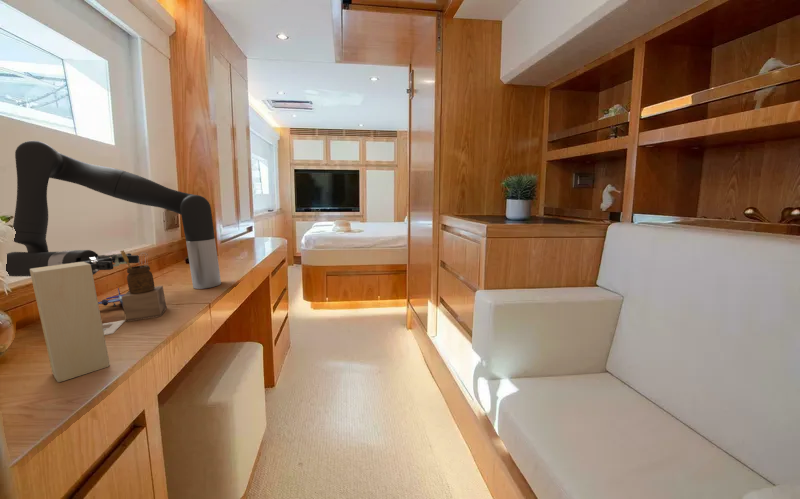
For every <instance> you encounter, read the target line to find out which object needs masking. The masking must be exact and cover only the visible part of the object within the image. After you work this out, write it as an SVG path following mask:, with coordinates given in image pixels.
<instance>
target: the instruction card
mask: <svg viewBox="0 0 800 499" xmlns="http://www.w3.org/2000/svg"><path fill="white" fill-rule="evenodd" d="M125 322H126V319H124V320H118V321H110V322H104V323H103V322H102V326H103V331H104V336H107V335H113V334H114V333H115V332H116V331H117V330H118V329H119V328H120V327H121V326H122V325H123V324H124V323H125Z"/></svg>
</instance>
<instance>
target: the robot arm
mask: <svg viewBox="0 0 800 499" xmlns="http://www.w3.org/2000/svg"><path fill="white" fill-rule="evenodd" d="M14 152H15V153H14V158H15V169H16V182H17V183H16V184H17V186H16V188H17V189H16V200H15V201H16V204H15V210H14V211H15V212H14V217H13V224H12V228H13V227H14V229H15V231H16V234H15V238H14V241H13V242H14V243H16V244H20V245H23V246H24V247H25V248H26V251H11V252H8V253H6V254H7V264H6V271H7V272H8V274H9V276H8V277H14V278H15V277H16V278H17V277H31V274H30V269H32V268H39V267H46V266H54V265H61V264H69V263H76V262H86V263H88V264H90V265H91V268H92V273H93V276H94V275H95V274H97V272H99V271H110V270H113V269H114V267H115V268H116V267H120V265H124V264H127V262H125V261H124V258H123V256H122V254H121V253H112V254H98V253H97V252H96V251H93V250H91V249H75V250H73V249H71V250H69V249H68V250H62V251H49V247H48V244H47V243H48V242H47V232H48V225H49V206H48V187H49V186H48V185H49V180H50V179H54V180H58V181H64V182H67V183H71V184H76V185H79V186H82V187H85V188H87V189H90V190H92V191H95V192H97V193H101V194H103V195H106V196H109V197H112V198H114V199H115V198H116V199H119V200H121V201H126V202H130V203H133V204H138V205H142V206H149V207H154V208H161V209H164V210H167V211H171V212H173V213H176V214H178V215H181V221H182V226H183V233H184V237H185V243H186V249H187V251H186V252H187V257H188V262H189V269H190V275H191V282H192V288H193V289H195V290H197V289H198V290H201V289H210V288H213V287H217V286H221V284H222V279H221V272H220V264H219V260H218V259H219V257H218V252H217V251H218V250H217V245H216V237H215V228H214V222H213V221H214V220H213V215H212V214H213V213H212V207H211V204H210V202H209V201H208V199H207V198H206V197H204V196H202V195H198V194H193V193H192V194H191V193H187V192H182V191H178V190H175V189H171V188H169V187H166V186H165V185H162V184H160V183H158V182H155V181H154V180H152V179H148V178H145V177H144V176H140V175H138V174H134V173H132V172H129V171H125V170H122V169H118V168H114V167H110V166H103V165H99V164H92V163H87V162H84V161H81V160H78V159H76V158H73V157H70V156H68V155H65V154H64V153H61V152H60V151H57V150H56V149H54V148H53V147H52V146H51V145H49V144H47V143H46V142H43V141H39V140H28V141H24V142H22V143H20V144H19V145H18V146H17V147H16V149H15V151H14ZM125 254H126V256H127V258H128V259H129V261H128V262H129V264H140V256H139V255H134V254H133V255H132V253H130V252H129V253H125ZM127 265H128V264H127Z"/></svg>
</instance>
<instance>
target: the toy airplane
mask: <svg viewBox="0 0 800 499" xmlns="http://www.w3.org/2000/svg"><path fill="white" fill-rule="evenodd" d="M117 291H118V295H113V296H109V297H106V298H104V299H102V300H101V301H98V305H101V304H102V305H103V306H107V305H108V304H110V303H112V304H113V307H116V306H117V304H116V303H117V302H119V303H120V305H121V306H123V301H122V296H123V295H125V294H126V293H124V294H121V291H120V289H119V287H117ZM122 308H123V310H124V307H122Z"/></svg>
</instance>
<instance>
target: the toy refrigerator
mask: <svg viewBox="0 0 800 499" xmlns="http://www.w3.org/2000/svg"><path fill="white" fill-rule="evenodd" d="M30 274H31V276H30V279H31V283H32V286H33V291H34V292H33V293H34V296H35V301H36V304H37V309H38V313H39V318H40V319H39V320H40V323H41V327H42V332H43V335H44V336H43V337H44V341H45V346H46V350H47V355H48V359H49V363H50V368H51V373H52V375H53V377H54V379H55V380H56V382H57V383H61V382H64V381H68V380H71V379H73V378H77V377H80V376H81V377H82V376H83V375H86V374H89V373H93V372H96V371H99V370H102V369H105V368H108V367H110V366H111V364H110V360H109V354H108V348H107V343H106V339H105V336H106V335H104V331H103V326H102V324H103V322H102V318H101V317H102V316H101V312H100V307H99V305H100V304H98V302H99V300H98V296H97V295H98V294H97V291H96V289H97V288H96V286H95V280H94V275H93V273H92V268H91V265H90V264H88V263H86V262H76V263H69V264H61V265H54V266H46V267H39V268H32V269H30Z"/></svg>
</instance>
